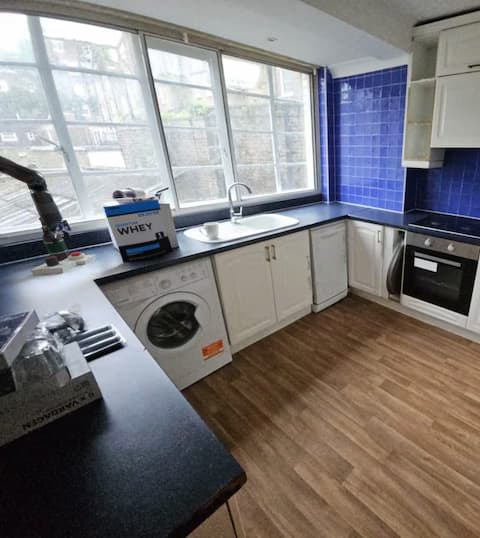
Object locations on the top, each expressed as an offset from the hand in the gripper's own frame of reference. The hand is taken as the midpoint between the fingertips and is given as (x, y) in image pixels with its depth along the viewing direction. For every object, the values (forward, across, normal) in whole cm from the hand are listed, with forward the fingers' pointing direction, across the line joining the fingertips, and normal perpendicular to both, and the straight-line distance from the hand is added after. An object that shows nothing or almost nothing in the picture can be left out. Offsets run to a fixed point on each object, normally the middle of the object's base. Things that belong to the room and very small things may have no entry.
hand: (63, 242), depth 152 cm
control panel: (+12, +8, -3) cm, 15 cm away
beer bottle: (+12, -11, -12) cm, 21 cm away
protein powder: (+13, -2, +36) cm, 38 cm away
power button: (+9, -3, +1) cm, 9 cm away
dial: (+9, +8, -3) cm, 12 cm away
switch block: (+12, -3, +1) cm, 13 cm away
